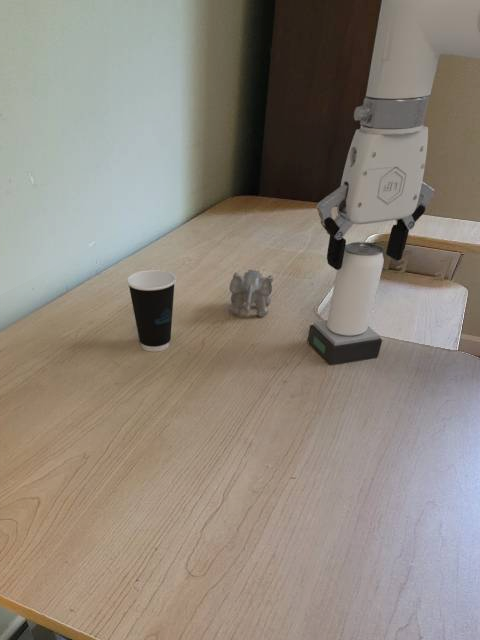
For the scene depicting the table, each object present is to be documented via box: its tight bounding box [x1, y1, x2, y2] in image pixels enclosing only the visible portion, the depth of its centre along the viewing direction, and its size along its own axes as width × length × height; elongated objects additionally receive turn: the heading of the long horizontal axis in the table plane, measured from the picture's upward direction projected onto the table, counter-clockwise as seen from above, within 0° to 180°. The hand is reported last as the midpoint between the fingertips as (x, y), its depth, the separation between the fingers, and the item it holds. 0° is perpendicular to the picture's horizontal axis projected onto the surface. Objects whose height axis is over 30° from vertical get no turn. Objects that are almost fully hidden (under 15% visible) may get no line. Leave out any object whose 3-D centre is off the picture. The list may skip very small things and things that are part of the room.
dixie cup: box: [126, 269, 177, 353], centre depth 86 cm, size 8×8×11 cm
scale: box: [307, 319, 383, 366], centre depth 86 cm, size 9×9×4 cm
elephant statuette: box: [229, 269, 274, 318], centre depth 94 cm, size 9×12×8 cm
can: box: [327, 241, 385, 336], centre depth 80 cm, size 6×6×12 cm
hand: (363, 262), depth 77 cm, fingers open, 9 cm apart
